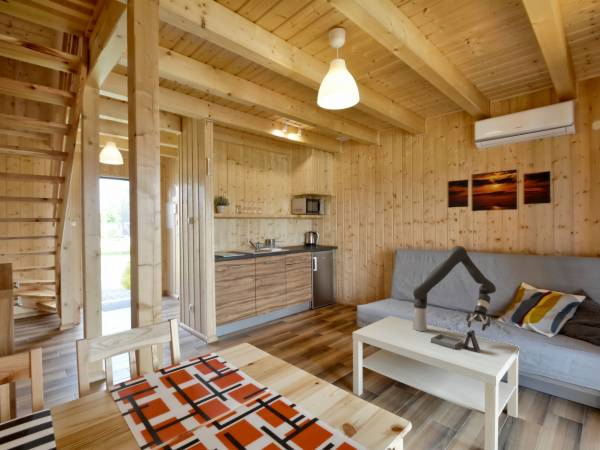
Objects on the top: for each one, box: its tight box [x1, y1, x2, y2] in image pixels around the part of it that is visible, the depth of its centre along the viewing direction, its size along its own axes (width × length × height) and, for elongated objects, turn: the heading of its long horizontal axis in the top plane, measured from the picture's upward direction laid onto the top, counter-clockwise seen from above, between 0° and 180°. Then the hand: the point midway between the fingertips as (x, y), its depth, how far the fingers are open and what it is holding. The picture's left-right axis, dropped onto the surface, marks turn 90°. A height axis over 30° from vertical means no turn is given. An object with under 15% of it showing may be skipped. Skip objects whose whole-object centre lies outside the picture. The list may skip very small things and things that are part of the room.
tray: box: [430, 333, 465, 350], centre depth 213 cm, size 16×14×3 cm
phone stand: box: [462, 329, 481, 353], centre depth 202 cm, size 9×6×12 cm, turn 46°
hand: (475, 328), depth 207 cm, fingers open, 8 cm apart
